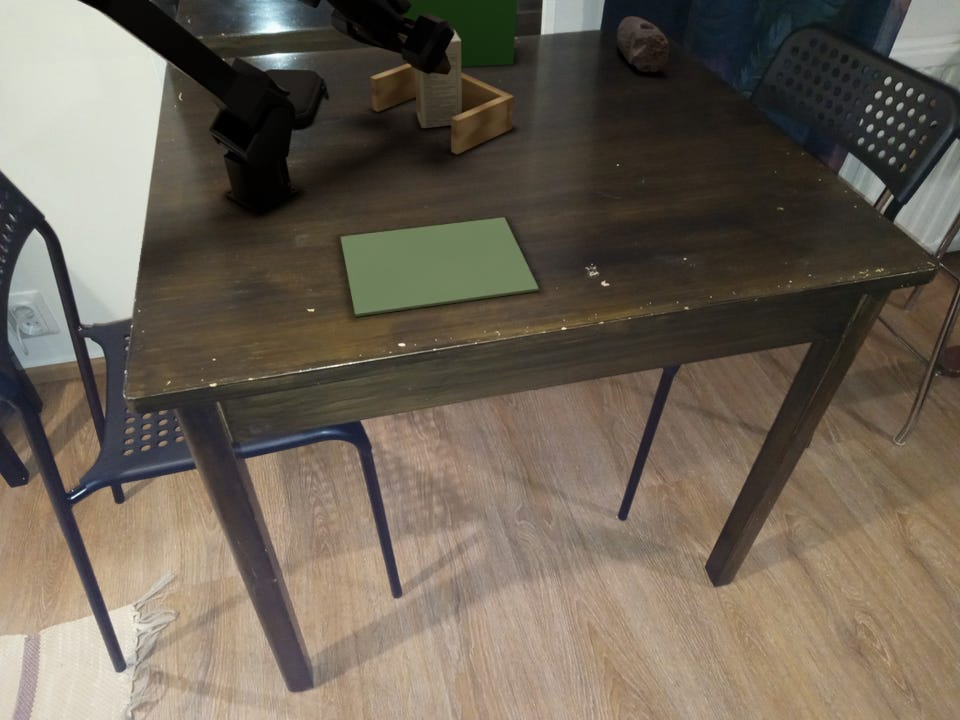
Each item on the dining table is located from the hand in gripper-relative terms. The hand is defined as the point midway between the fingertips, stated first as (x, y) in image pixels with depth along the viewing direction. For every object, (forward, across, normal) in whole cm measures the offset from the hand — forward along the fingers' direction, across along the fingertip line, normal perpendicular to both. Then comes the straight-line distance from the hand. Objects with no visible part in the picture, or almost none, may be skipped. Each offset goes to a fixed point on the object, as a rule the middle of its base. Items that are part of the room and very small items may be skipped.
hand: (425, 60), depth 96 cm
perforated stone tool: (+37, -7, -23) cm, 44 cm away
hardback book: (+21, +15, -8) cm, 27 cm away
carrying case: (-1, +18, +15) cm, 24 cm away
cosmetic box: (+8, 0, +5) cm, 10 cm away
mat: (-9, -25, +22) cm, 35 cm away
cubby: (+8, 0, +5) cm, 10 cm away
